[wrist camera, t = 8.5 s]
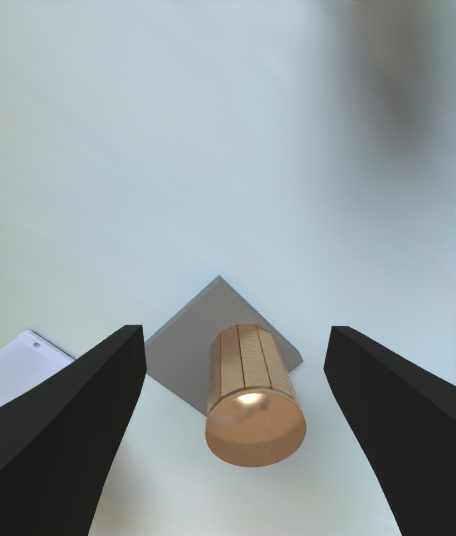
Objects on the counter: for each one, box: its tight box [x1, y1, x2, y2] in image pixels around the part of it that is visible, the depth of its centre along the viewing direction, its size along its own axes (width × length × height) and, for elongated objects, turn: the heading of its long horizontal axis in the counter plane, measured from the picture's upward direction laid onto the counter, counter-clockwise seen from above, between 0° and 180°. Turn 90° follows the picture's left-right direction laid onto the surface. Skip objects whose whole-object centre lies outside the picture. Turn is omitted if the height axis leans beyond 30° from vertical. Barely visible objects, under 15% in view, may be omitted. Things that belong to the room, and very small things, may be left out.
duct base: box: [144, 275, 303, 417], centre depth 18 cm, size 10×10×5 cm
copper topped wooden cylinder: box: [205, 324, 306, 467], centre depth 16 cm, size 6×6×7 cm
